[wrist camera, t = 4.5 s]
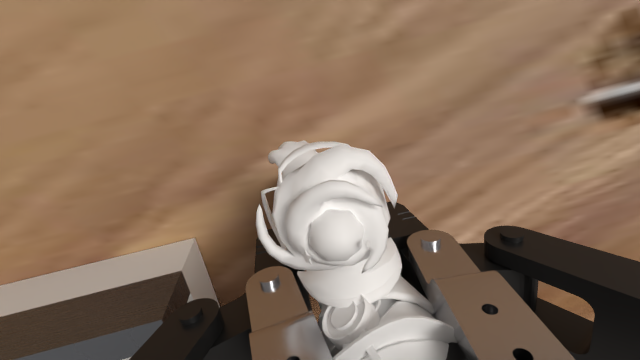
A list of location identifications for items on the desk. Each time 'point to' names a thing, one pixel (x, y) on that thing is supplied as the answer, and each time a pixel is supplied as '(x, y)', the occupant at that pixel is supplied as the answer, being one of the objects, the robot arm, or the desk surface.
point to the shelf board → (110, 277)
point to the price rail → (93, 322)
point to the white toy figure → (348, 253)
